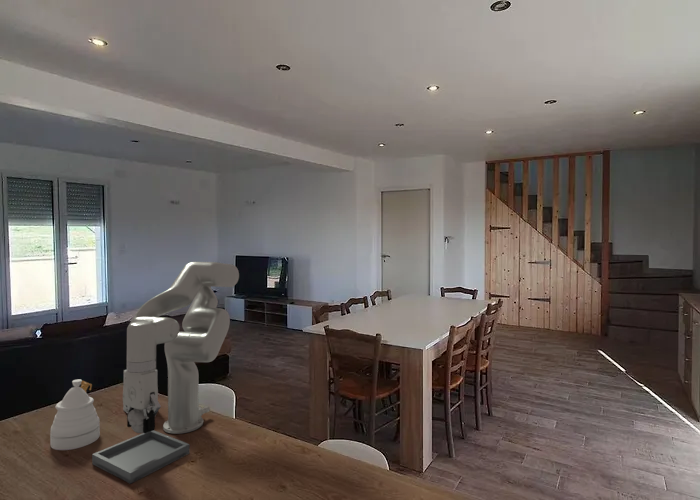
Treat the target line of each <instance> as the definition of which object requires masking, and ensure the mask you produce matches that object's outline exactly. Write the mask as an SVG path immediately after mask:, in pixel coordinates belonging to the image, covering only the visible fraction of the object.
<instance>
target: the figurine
mask: <svg viewBox="0 0 700 500" xmlns="http://www.w3.org/2000/svg"><path fill="white" fill-rule="evenodd" d="M79 387H80V388H82V389H83V390H84V391H85V392H86V393H87V390H89V391H91V390H92V387H93V384H92V383H89V382H87V381H85V380H82V382H81V384H80V386H79Z"/></svg>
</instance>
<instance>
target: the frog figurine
mask: <svg viewBox="0 0 700 500" xmlns="http://www.w3.org/2000/svg"><path fill="white" fill-rule="evenodd" d="M148 413H149V411H148ZM143 419H145V416H144V412H143V410H138V409H135V408H134V409H133V410H131V411H130V412H129V414H128V421H129V424H130V425H132V426H131V427H130V428H131V429H132V431H133V432H135V433H137V434H142V433H143Z"/></svg>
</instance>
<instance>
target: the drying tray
mask: <svg viewBox="0 0 700 500" xmlns="http://www.w3.org/2000/svg"><path fill="white" fill-rule="evenodd" d="M188 455H190V444H189V443H188V442H186V441H183V440H180V439H177V438H174V437H172V436H169V435H167V434H165V433H161V432H160V431H156V430H155V429H154V430H153V431H150V432H148V433H139V434H137V435H135V436H133V437H131V438H128V439H126V440H122V441H121V442H117V443H116V444H113V445H112V446H108V447H106V448H104V449H101V450H99V451H96V452H94V453H92V456H91V457H92V458H91V462H92V463H91V464H92V465H93V466H95V467H97V468H99V469H101V470H103V471H105V472H107V473H108V474H111V475H112V476H115V477H116V478H118V479H120V480H122V481H124V482H126V483H127V484H129V485H130V484H133V483H135V482H137V481H139V480H141V479H143V478H144V477H147V476H149V475H151V474H152V473H154V472H157V471H158V470H160V469H162V468H165V467H166V466H168V465H170V464H172V463H174V462H176V461H178V460H180V459H181V458H184V457H186V456H188Z"/></svg>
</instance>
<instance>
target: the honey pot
mask: <svg viewBox="0 0 700 500" xmlns="http://www.w3.org/2000/svg"><path fill="white" fill-rule="evenodd" d="M82 381H83V380H82V379H81V378H80V379H78V378H77V379H73V380H72V381H71V384H72V387H71V388H69V390H68V391H67V392H66V393H65V395H64V397H63V398H62V400H60V401H59V402H58V403H56V405H55V409H56V411H57V412H56V414H55V415H54V419H53V421H52V425H51V426H50V434H49V435H50V448H51V449H53V450H56V451H68V450H69V451H70V450H75V449H79V448H83V447H85V446H89V445H91V444H93V443H94V442H96V441H97V440H98V439H99V437H100V436H101V435H100V434H101V433H100V431H101V428H100V423H101V422H100V421H101V420H100V417H99V416H98V413H97V411H96V410H97V409H96V408H95V405H94V404H93V403H94V401H95V399H94V398H93V397H91V396H89V395H88V393H87V391H86V392H85V391H84V390H83V389H82V388H80V387H81V385H82V384H81V382H82Z"/></svg>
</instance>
